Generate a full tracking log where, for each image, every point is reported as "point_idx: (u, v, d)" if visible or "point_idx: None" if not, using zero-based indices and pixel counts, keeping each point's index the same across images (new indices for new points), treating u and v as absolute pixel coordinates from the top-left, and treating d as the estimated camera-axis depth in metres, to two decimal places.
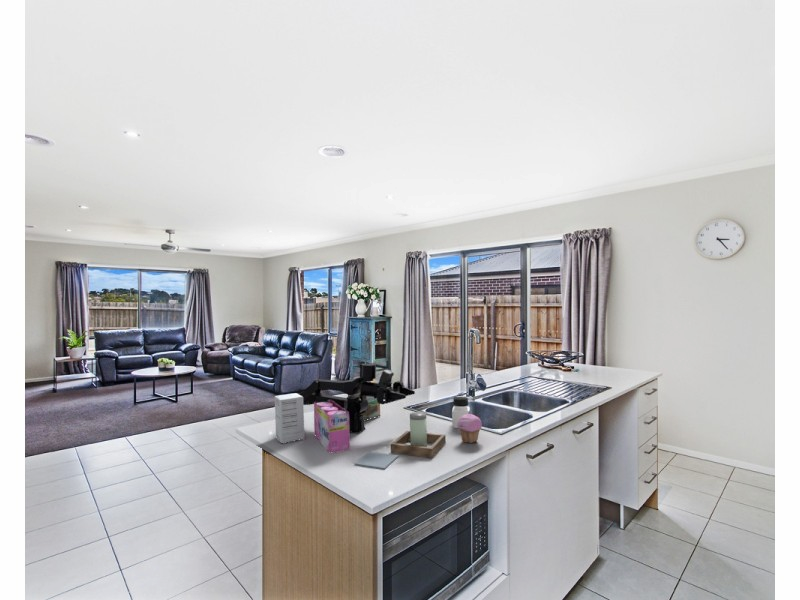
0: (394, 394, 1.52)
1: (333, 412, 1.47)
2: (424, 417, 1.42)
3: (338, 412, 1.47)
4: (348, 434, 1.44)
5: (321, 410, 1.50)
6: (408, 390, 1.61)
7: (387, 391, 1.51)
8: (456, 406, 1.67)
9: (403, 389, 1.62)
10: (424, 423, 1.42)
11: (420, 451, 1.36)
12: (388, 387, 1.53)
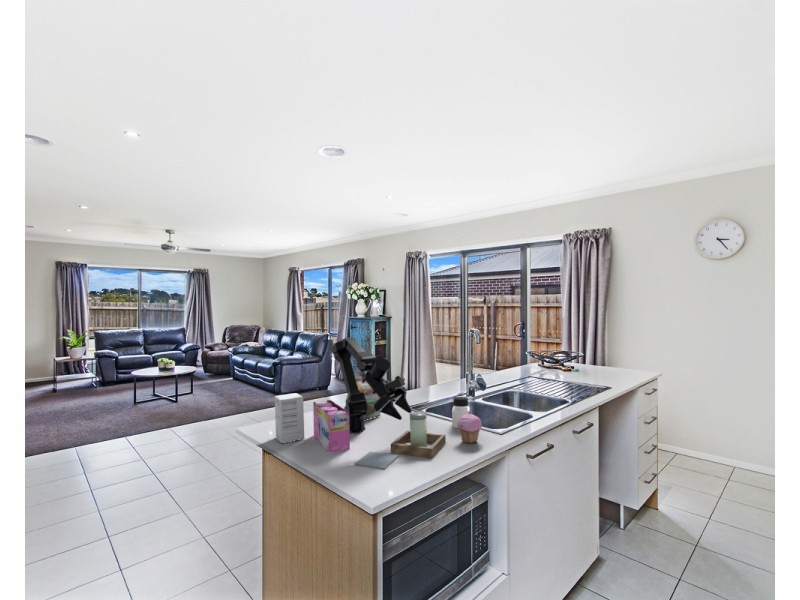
0: (392, 410, 1.42)
1: (333, 412, 1.47)
2: (424, 417, 1.42)
3: (338, 412, 1.47)
4: (348, 434, 1.44)
5: (321, 410, 1.50)
6: (406, 406, 1.51)
7: (388, 404, 1.41)
8: (456, 406, 1.67)
9: (403, 401, 1.52)
10: (424, 423, 1.42)
11: (420, 451, 1.36)
12: (392, 400, 1.42)
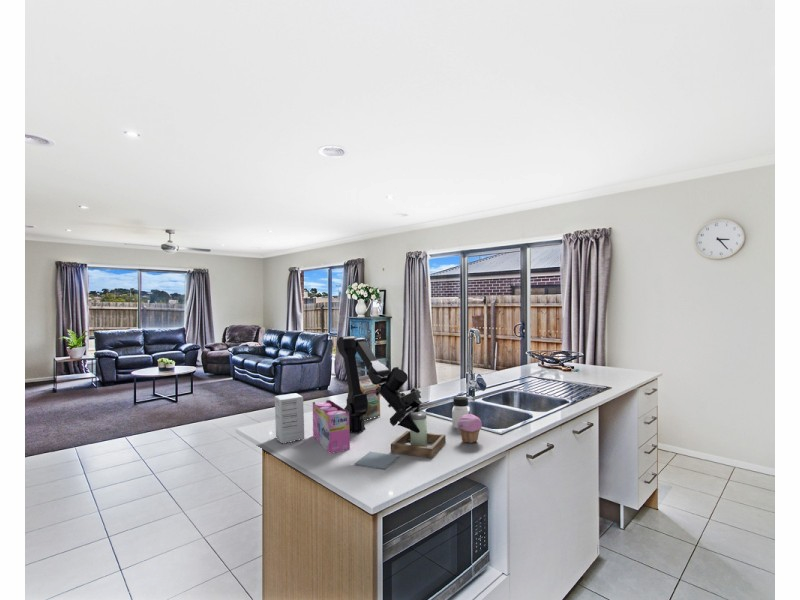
0: (410, 423, 1.41)
1: (333, 412, 1.47)
2: (424, 417, 1.42)
3: (338, 412, 1.47)
4: (348, 434, 1.44)
5: (320, 410, 1.50)
6: None
7: (406, 417, 1.40)
8: (456, 406, 1.67)
9: None
10: (424, 423, 1.42)
11: (420, 451, 1.36)
12: (409, 413, 1.41)
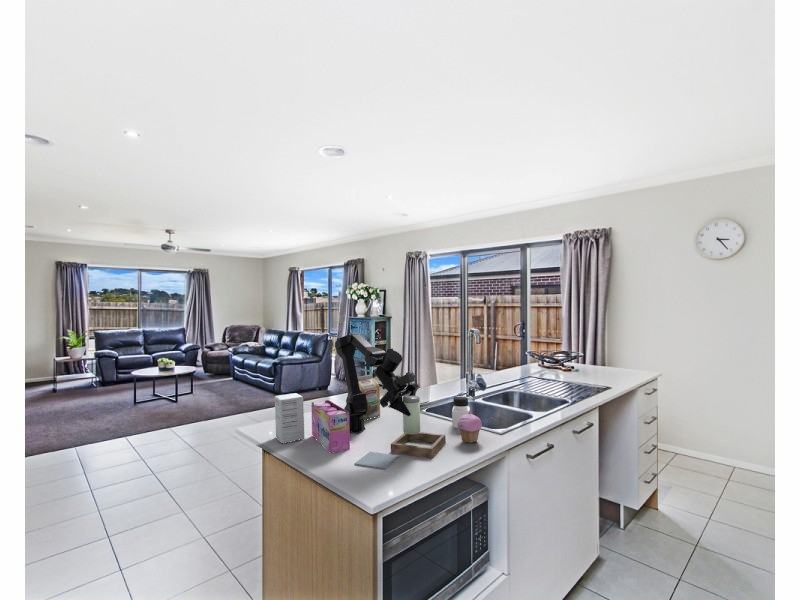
0: (401, 405, 1.38)
1: (333, 412, 1.47)
2: (416, 400, 1.39)
3: (338, 412, 1.46)
4: (348, 434, 1.44)
5: (320, 410, 1.50)
6: None
7: (397, 399, 1.37)
8: (456, 406, 1.67)
9: None
10: (416, 407, 1.39)
11: (420, 451, 1.36)
12: (400, 395, 1.38)
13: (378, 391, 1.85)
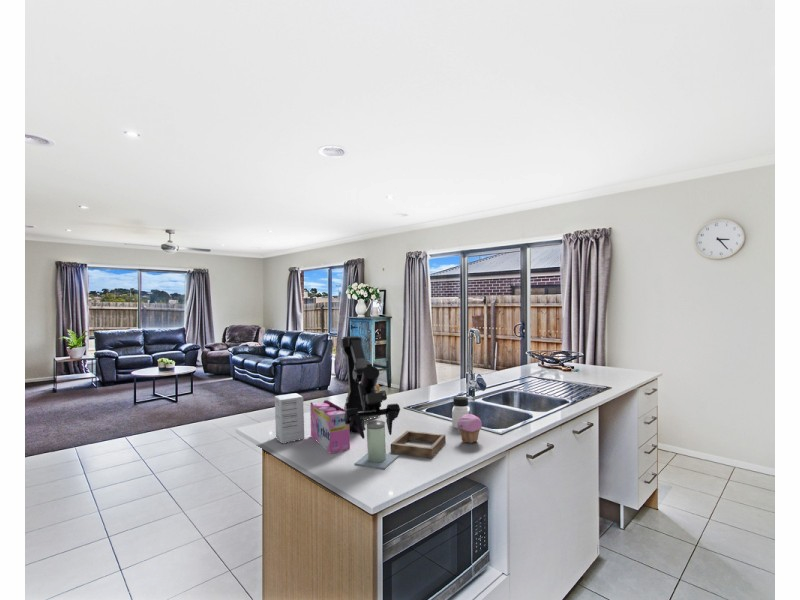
0: (358, 426, 1.32)
1: (333, 412, 1.46)
2: (375, 427, 1.30)
3: (338, 412, 1.46)
4: (348, 434, 1.45)
5: (320, 411, 1.50)
6: (389, 426, 1.35)
7: (352, 418, 1.33)
8: (456, 406, 1.67)
9: (388, 420, 1.36)
10: (375, 434, 1.30)
11: (420, 451, 1.36)
12: (357, 415, 1.32)
13: (378, 391, 1.85)
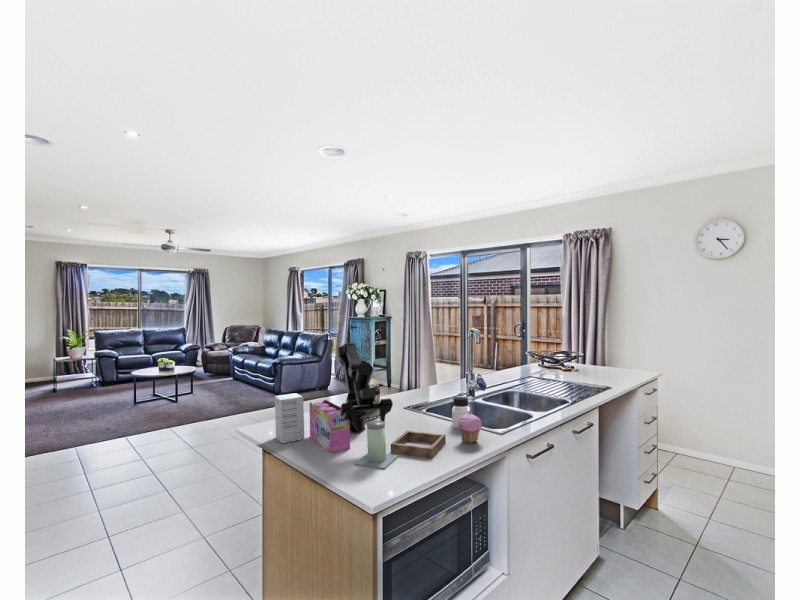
0: (353, 419, 1.41)
1: (333, 412, 1.47)
2: (375, 427, 1.30)
3: (338, 412, 1.47)
4: (348, 433, 1.45)
5: (319, 410, 1.50)
6: (381, 419, 1.43)
7: (348, 412, 1.41)
8: (456, 406, 1.67)
9: (381, 413, 1.44)
10: (375, 434, 1.30)
11: (420, 451, 1.36)
12: (352, 409, 1.41)
13: None
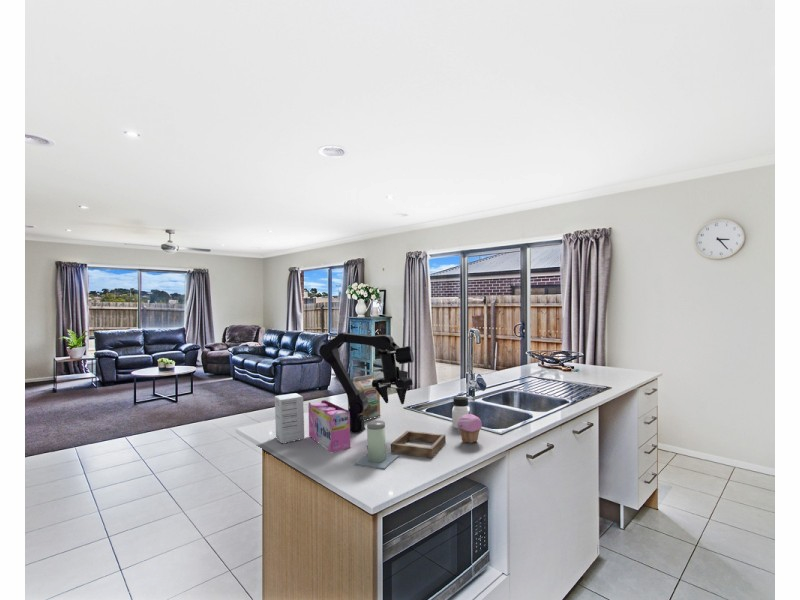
0: (404, 393, 1.59)
1: (333, 412, 1.47)
2: (375, 427, 1.30)
3: (338, 412, 1.47)
4: (349, 433, 1.46)
5: (319, 410, 1.50)
6: (387, 396, 1.66)
7: None
8: (456, 406, 1.67)
9: (386, 390, 1.67)
10: (375, 434, 1.30)
11: (420, 451, 1.36)
12: None
13: None
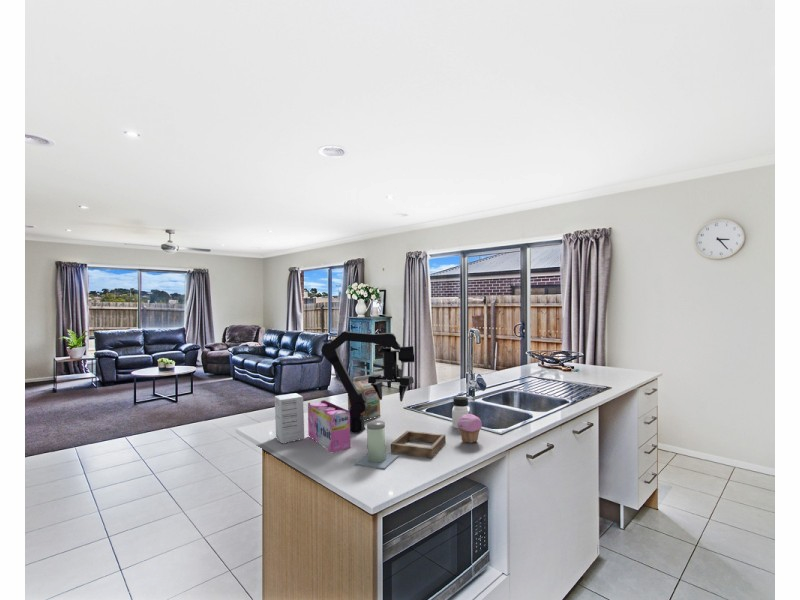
0: (404, 391, 1.64)
1: (333, 412, 1.47)
2: (375, 427, 1.30)
3: (338, 412, 1.47)
4: (349, 433, 1.46)
5: (319, 410, 1.50)
6: (381, 393, 1.68)
7: (408, 385, 1.65)
8: (456, 406, 1.67)
9: (381, 387, 1.69)
10: (375, 434, 1.30)
11: (420, 451, 1.36)
12: None
13: None
